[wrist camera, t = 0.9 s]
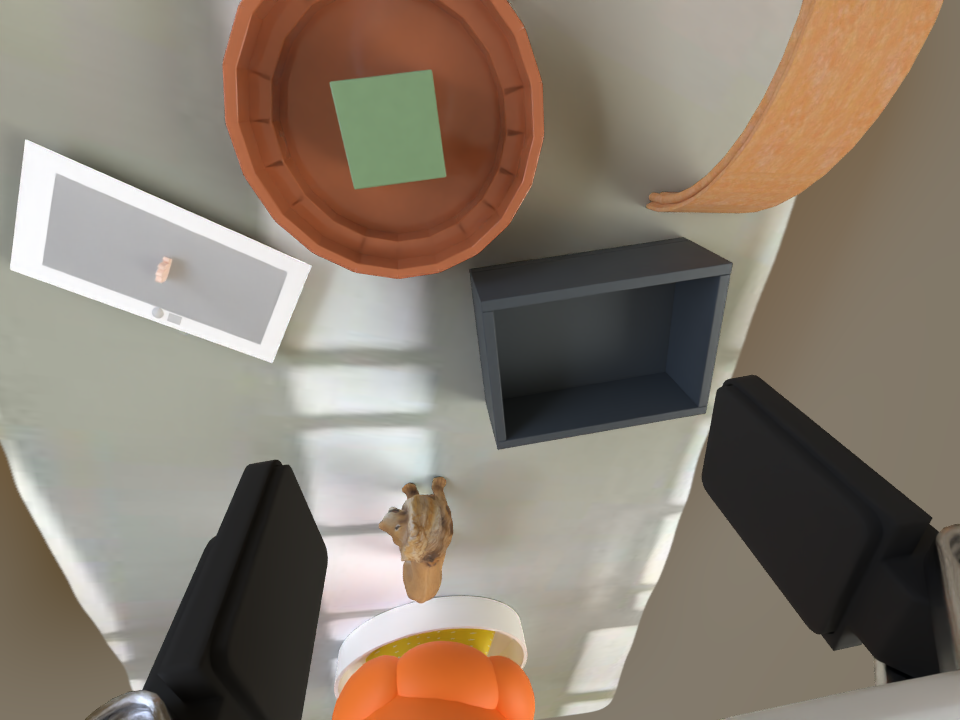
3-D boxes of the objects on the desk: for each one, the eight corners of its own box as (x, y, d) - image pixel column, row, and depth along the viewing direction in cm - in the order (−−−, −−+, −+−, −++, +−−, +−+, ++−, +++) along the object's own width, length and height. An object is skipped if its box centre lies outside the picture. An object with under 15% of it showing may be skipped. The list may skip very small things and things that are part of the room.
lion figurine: (380, 453, 39) (373, 543, 31) (443, 445, 39) (452, 531, 32) (404, 565, 46) (404, 660, 39) (458, 557, 47) (468, 649, 39)
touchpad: (39, 137, 25) (10, 141, 23) (314, 260, 30) (308, 271, 28) (23, 263, 28) (-4, 275, 26) (276, 355, 33) (268, 371, 31)
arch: (851, -216, 22) (1125, -406, 14) (721, 210, 32) (835, 253, 24) (741, -236, 22) (962, -452, 13) (643, 207, 31) (731, 251, 23)
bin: (469, 268, 32) (480, 301, 27) (683, 236, 33) (733, 262, 28) (485, 402, 38) (497, 450, 33) (667, 372, 39) (706, 413, 34)
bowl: (201, -34, 23) (162, -58, 19) (517, -67, 24) (536, -96, 20) (299, 272, 30) (285, 296, 27) (532, 238, 31) (548, 257, 28)
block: (343, 83, 25) (328, 81, 21) (427, 73, 26) (432, 69, 21) (363, 173, 28) (354, 190, 23) (439, 162, 28) (446, 177, 23)
